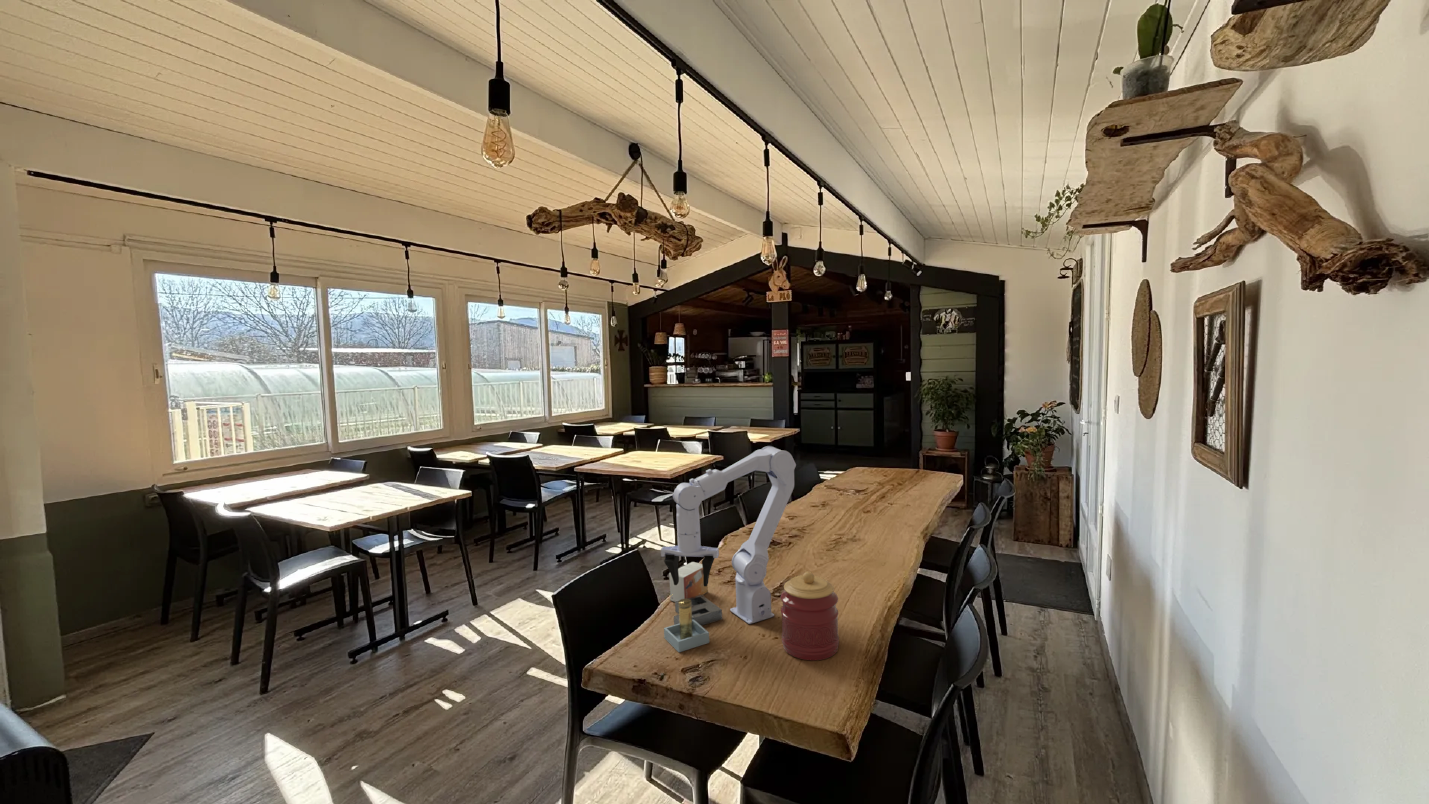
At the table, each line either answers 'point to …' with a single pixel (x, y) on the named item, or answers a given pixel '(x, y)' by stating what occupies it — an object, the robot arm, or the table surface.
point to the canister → (809, 617)
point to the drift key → (676, 618)
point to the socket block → (703, 610)
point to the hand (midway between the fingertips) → (691, 584)
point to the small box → (688, 582)
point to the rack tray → (680, 645)
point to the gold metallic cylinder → (685, 618)
